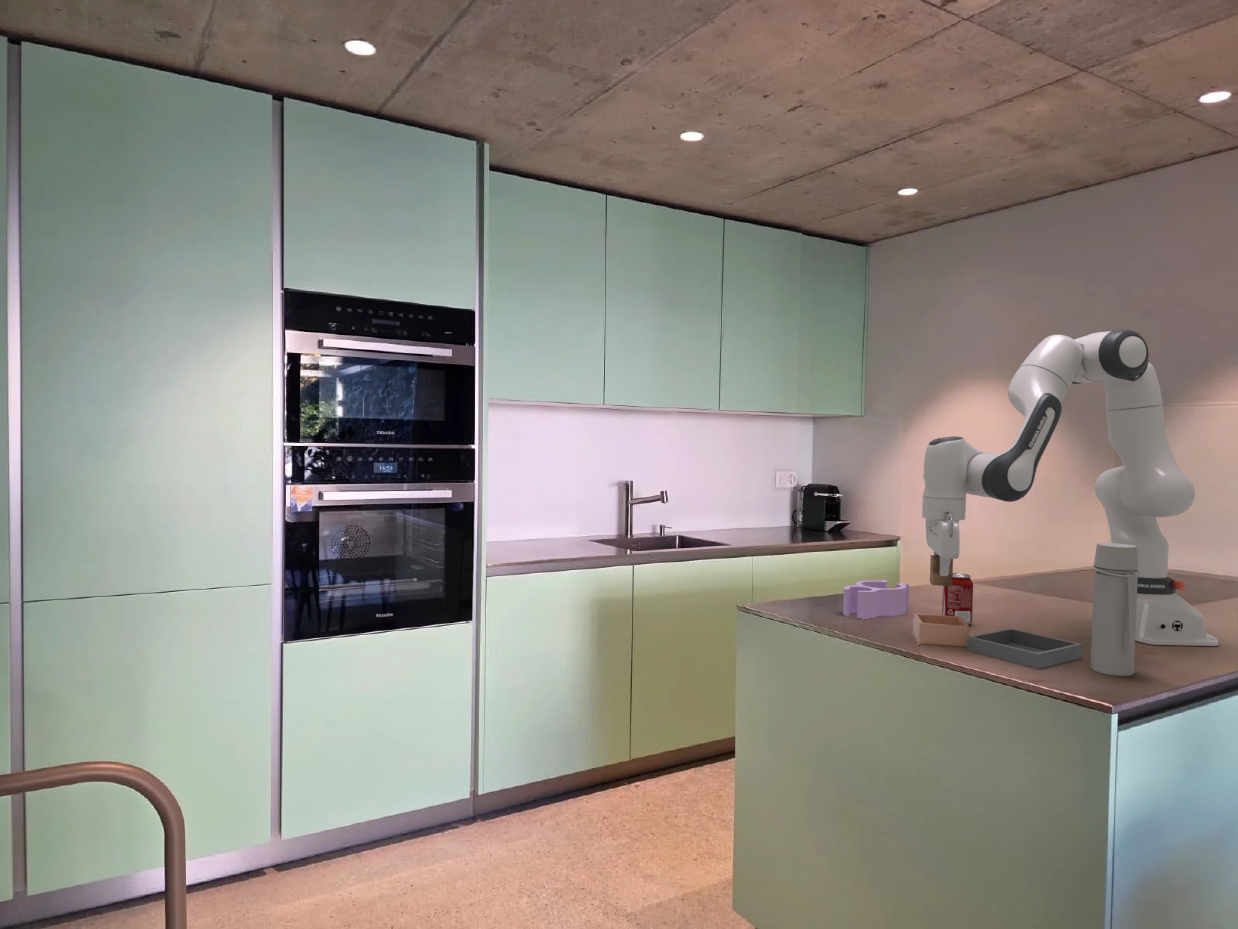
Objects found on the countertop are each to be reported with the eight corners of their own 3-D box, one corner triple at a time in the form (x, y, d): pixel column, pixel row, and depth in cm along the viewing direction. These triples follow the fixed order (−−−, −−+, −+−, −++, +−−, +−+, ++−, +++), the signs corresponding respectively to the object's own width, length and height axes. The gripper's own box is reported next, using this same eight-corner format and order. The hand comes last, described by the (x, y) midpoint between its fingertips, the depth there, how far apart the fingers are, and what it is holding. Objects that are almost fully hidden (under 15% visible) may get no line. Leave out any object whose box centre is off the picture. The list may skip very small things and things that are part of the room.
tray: (1010, 644, 178) (1010, 628, 178) (1081, 661, 165) (1081, 644, 165) (966, 653, 170) (967, 636, 169) (1038, 672, 157) (1038, 654, 156)
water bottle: (1080, 668, 160) (1085, 542, 159) (1119, 668, 160) (1124, 542, 159) (1109, 682, 151) (1114, 549, 150) (1151, 683, 151) (1156, 549, 150)
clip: (873, 622, 197) (874, 594, 197) (830, 613, 207) (831, 586, 206) (917, 612, 210) (918, 585, 210) (875, 603, 219) (875, 578, 219)
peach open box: (959, 638, 182) (960, 616, 182) (968, 649, 172) (969, 626, 172) (912, 635, 184) (913, 613, 184) (918, 646, 174) (919, 623, 174)
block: (948, 583, 179) (949, 556, 179) (952, 586, 175) (953, 558, 175) (929, 582, 180) (930, 555, 180) (932, 585, 176) (933, 557, 176)
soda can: (974, 628, 192) (976, 578, 192) (944, 626, 194) (946, 576, 193) (968, 621, 199) (969, 573, 198) (939, 620, 200) (940, 571, 200)
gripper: (968, 515, 166) (966, 582, 167) (950, 507, 186) (948, 567, 187) (936, 514, 168) (933, 580, 168) (921, 506, 188) (919, 565, 188)
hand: (941, 573), depth 178 cm, fingers closed on block, 4 cm apart
